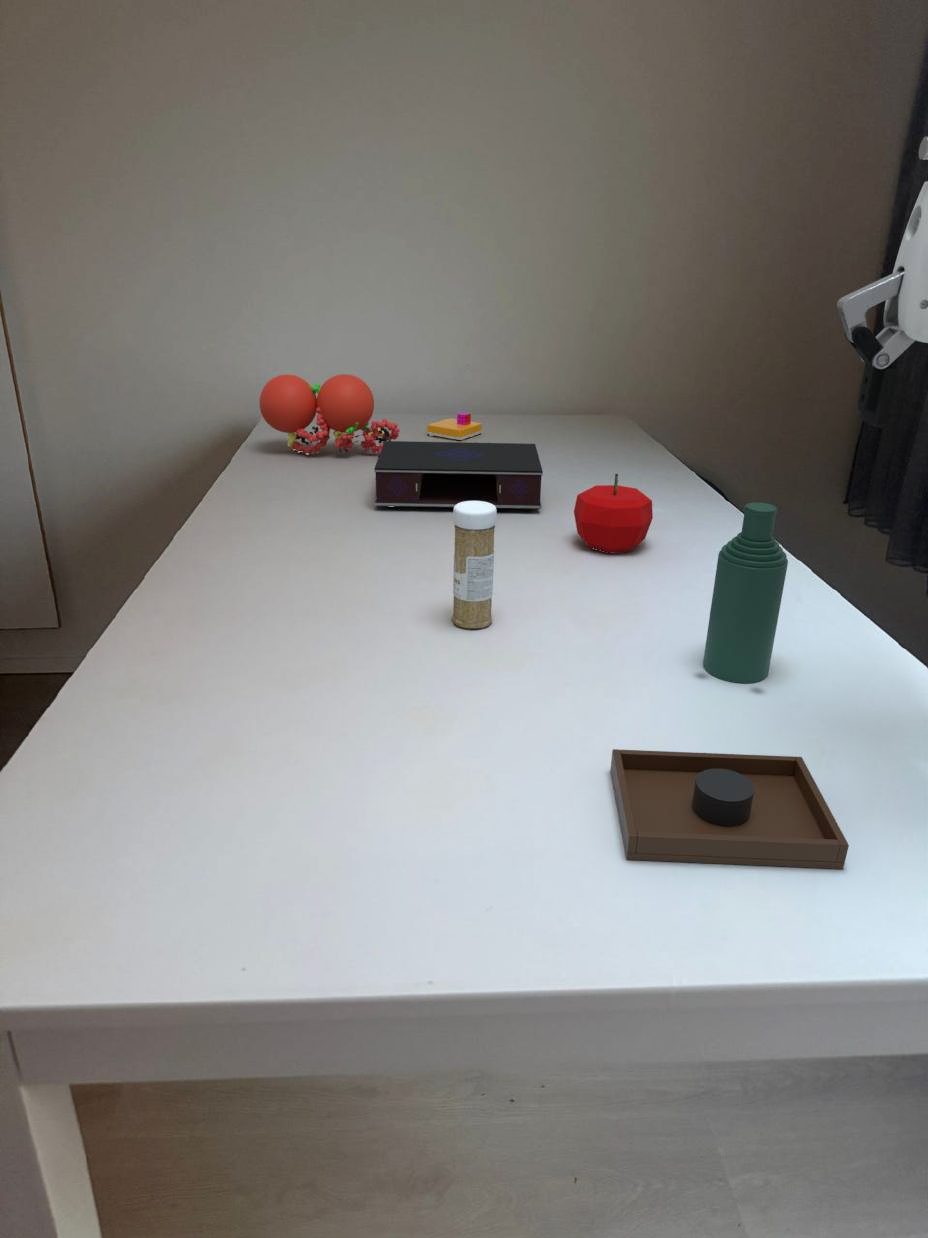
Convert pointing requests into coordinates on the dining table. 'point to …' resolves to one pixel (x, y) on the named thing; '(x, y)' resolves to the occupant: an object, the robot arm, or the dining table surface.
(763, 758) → the tray
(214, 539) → the dining table surface
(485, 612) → the spice jar
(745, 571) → the flask
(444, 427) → the orange slab with cube
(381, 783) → the dining table surface
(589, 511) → the apple
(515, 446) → the low media console
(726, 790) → the flask cap
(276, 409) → the molecule
